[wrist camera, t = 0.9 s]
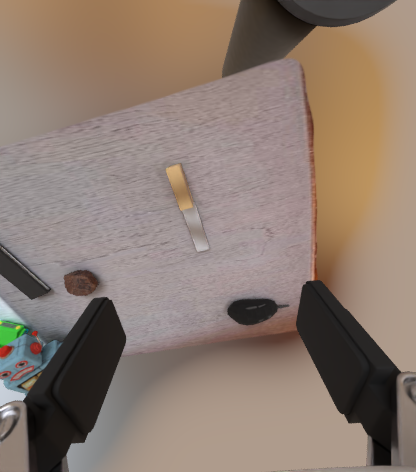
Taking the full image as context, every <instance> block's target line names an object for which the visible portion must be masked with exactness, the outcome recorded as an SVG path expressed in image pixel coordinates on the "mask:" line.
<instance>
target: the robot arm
mask: <svg viewBox="0 0 416 472" xmlns="http://www.w3.org/2000/svg"><path fill="white" fill-rule="evenodd" d="M296 326H297V330H298V332H299V334H300V336H301V338H302V340H303V342H304V344H305V346H306V348H307V350H308V352H309V354H310V356H311V358H312V360H313V362H314V364H315V366H316V368H317V370H318V372H319V374H320V376H321V378H322V380H323V382H324V384H325V385H326V388H327V389H328V392H329V394H330V396H331V397H332V400H333V402H334V404H335V406H336V407H337V409H338V411H339V412H340V413H341V414H344V415H345V417H346V419H347V421H348V423H361V424H362V426H363V428H364V429H365V431H366V433H367V435H368V442H367V458H366V466H363V467H339V468H338V467H337V468H319V469H305V470H288V471H273V472H416V373H415V372H402V373H401V371H400V370H399V369H398V368H397V367H396V366H395V364H394V363H393V362H392V361H391V360H390V359H389V358H388V356H387V355H386V354H385V353H384V352H383V351H382V349H381V348H380V347H379V346H378V345H377V344H376V342H375V341H374V340H373V339H372V338H371V337H370V335H369V334H368V333H367V332H366V331H365V330H364V328H362V326H361V325H360V324H359V323H358V322H357V321H356V319H355V318H354V317H353V316H352V315H351V313H350V312H349V311H348V310H347V309H345V308H344V307H343V306H342V305H341V304H340V302H339V301H338V300H337V299H336V298H335V296H334V295H333V294H332V293H331V292H330V291H329V289H328V288H327V287H326V286H325V285H324V284H323V282H322V281H320V280H317V281H307V282H306V284H305V285H303V287H302V292H301V298H300V304H299V310H298V315H297V321H296ZM125 343H126V335H125V333H124V330H123V327H122V325H121V322H120V320H119V317H118V315H117V312H116V310H115V307H114V304H113V302H112V300H109V299H108V298H107V297H101V298H94V299H93V300H92V301H91V302H90V304H89V305H88V306H87V308H86V309H85V311H84V312H83V314H82V315H81V317H80V318H79V319H78V321H77V322H76V324H75V325H74V327H73V328H72V330H71V331H70V332H69V334H68V335H67V337H66V338H65V340H64V341H63V343H62V344H61V345H60V347H59V348H58V350H57V351H56V353H55V354H54V356H53V357H52V358H51V360H50V361H49V363H48V364H47V366H46V367H45V369H44V370H43V371H42V373H41V374H40V376H39V377H38V379H37V380H36V382H35V383H34V384H33V386H32V387H31V389H30V390H29V392H28V393H27V396H26V398H25V399H24V400H23V402H22V401H12V402H9V403H6V404H5V405H3V406H1V407H0V472H69V470H68V463H67V456H66V454H67V452H68V449H69V447H70V445H71V443H84V442H85V440H86V437H87V435H88V433H89V432H91V430H92V429H93V428H94V425H95V423H96V420H97V418H98V415H99V412H100V410H101V407H102V404H103V402H104V399H105V396H106V394H107V391H108V389H109V386H110V383H111V381H112V378H113V375H114V373H115V370H116V367H117V365H118V362H119V359H120V357H121V354H122V352H123V349H124V346H125Z"/></svg>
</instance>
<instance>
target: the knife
mask: <svg viewBox="0 0 416 472" xmlns="http://www.w3.org/2000/svg"><path fill="white" fill-rule="evenodd" d="M166 172H167V175H168V178H169V180H170V183H171V186H172V189H173V191H174V194H175V197H176V200H177V202H178V205H179V208H180V210H181V211H183V214H184V217H185V219H186V222H187V225H188V228H189V230H190V233H191V236H192V239H193V241H194V244H195V247H196V250H197V252H200V251H204V250H208V249H210V248H209V244H208V241H207V238H206V235H205V232H204V229H203V226H202V223H201V220H200V217H199V213H198V210H197V207H196V204H195V202H193V199H192V196H191V192H190V189H189V186H188V183H187V180H186V177H185V174H184V171H183V168H182V165H181V163H179V164H175V165H172V166H169V167H168V168H166Z"/></svg>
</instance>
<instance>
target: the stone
mask: <svg viewBox="0 0 416 472" xmlns="http://www.w3.org/2000/svg"><path fill="white" fill-rule="evenodd" d="M64 280H65V288H67V291H68V292H69V293H70V294H73V295H76V296H83V295H85V296H86V295H88V294H89V293H92V292H93V291H94V290H95V289H96V287H97V285H98V281H97V280H96V278H94V277H93V275H92V273H91V272H89V271H87V270H84V271H81V270H78V271H74V272H71V273H69V274H67V275H65V276H64Z"/></svg>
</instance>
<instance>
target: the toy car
mask: <svg viewBox="0 0 416 472" xmlns="http://www.w3.org/2000/svg"><path fill="white" fill-rule="evenodd" d="M27 333H28V329H24V326H22V325H18V324H14V323H9V322H5V321H0V348H2V347H3V346H5V345H7V344H9V343H10V342H12V341H14V340H15V339H17V338H19V337H20V336H22V335H24V334H27Z"/></svg>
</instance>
